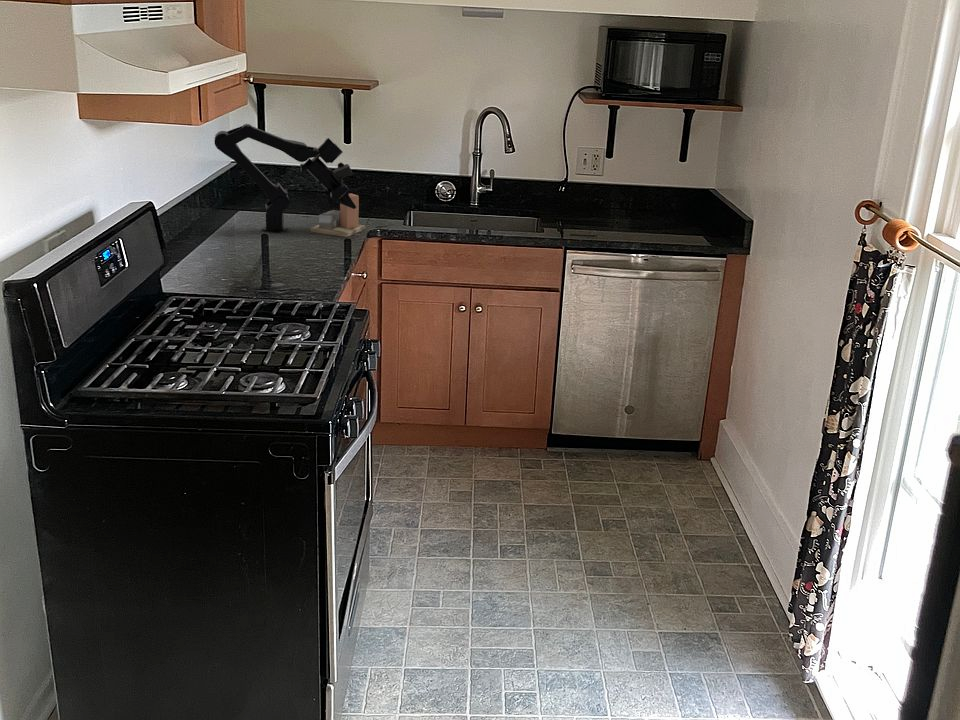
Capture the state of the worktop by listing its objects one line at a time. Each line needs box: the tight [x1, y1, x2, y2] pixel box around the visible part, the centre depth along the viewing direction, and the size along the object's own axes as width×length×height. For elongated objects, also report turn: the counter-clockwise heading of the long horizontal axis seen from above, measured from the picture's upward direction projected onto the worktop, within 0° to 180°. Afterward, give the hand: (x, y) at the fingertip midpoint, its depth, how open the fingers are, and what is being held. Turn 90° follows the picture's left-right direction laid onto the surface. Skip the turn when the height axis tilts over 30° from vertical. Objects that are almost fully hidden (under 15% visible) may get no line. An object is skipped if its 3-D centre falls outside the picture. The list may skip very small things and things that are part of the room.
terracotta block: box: [339, 192, 360, 228], centre depth 323 cm, size 5×5×11 cm
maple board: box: [310, 209, 366, 238], centre depth 323 cm, size 14×14×6 cm
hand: (353, 205), depth 323 cm, fingers open, 9 cm apart
